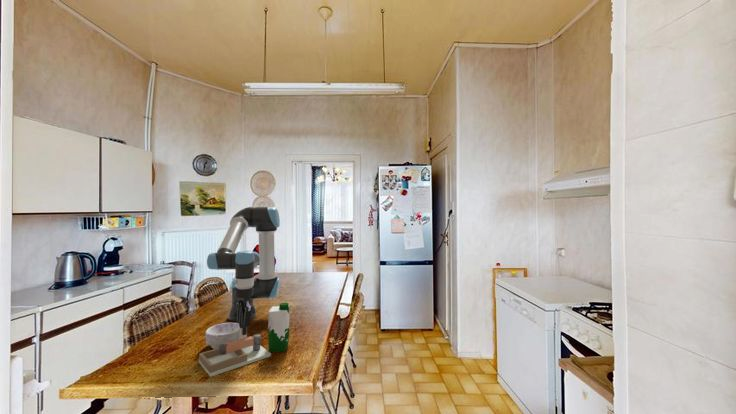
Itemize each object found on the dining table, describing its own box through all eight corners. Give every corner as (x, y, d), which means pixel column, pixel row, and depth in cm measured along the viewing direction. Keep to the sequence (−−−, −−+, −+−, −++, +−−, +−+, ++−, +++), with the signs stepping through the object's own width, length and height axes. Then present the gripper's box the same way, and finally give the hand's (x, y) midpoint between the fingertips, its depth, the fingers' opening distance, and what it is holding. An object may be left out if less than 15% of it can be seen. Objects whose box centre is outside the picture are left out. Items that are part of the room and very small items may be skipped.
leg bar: (258, 340, 136) (258, 333, 136) (262, 342, 134) (262, 335, 134) (217, 352, 124) (217, 345, 124) (220, 355, 122) (220, 348, 122)
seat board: (198, 362, 125) (198, 352, 125) (255, 344, 141) (256, 336, 141) (210, 376, 114) (210, 366, 114) (270, 356, 131) (270, 347, 131)
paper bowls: (205, 355, 130) (205, 337, 130) (205, 342, 144) (205, 325, 144) (243, 348, 137) (243, 331, 137) (240, 336, 151) (240, 320, 151)
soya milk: (287, 352, 134) (287, 306, 134) (266, 353, 133) (266, 307, 133) (290, 343, 143) (290, 301, 143) (270, 344, 142) (271, 301, 142)
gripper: (230, 285, 134) (228, 339, 134) (241, 291, 125) (239, 349, 125) (247, 282, 139) (245, 334, 139) (259, 288, 130) (257, 344, 130)
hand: (243, 341), depth 132 cm, fingers closed
